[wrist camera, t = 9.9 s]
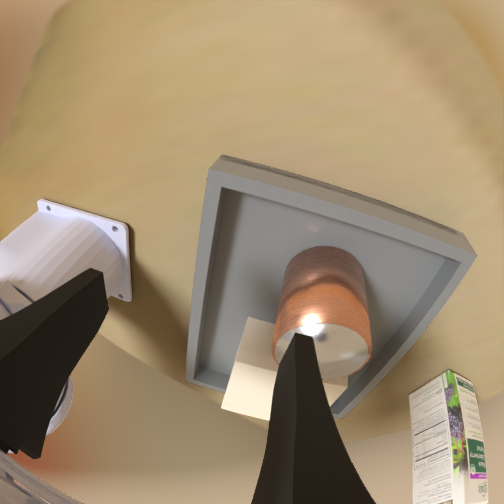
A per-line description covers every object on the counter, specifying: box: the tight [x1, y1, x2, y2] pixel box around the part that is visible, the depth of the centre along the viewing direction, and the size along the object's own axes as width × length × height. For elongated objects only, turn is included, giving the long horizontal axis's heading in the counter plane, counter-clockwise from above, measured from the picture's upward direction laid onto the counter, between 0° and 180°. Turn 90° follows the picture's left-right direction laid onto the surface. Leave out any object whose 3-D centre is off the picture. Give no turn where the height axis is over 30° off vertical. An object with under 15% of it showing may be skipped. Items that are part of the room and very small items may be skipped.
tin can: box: [271, 246, 372, 380], centre depth 17 cm, size 5×5×6 cm
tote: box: [185, 155, 477, 419], centre depth 22 cm, size 16×21×2 cm
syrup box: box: [409, 370, 489, 504], centre depth 20 cm, size 6×6×14 cm
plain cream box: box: [221, 317, 348, 421], centre depth 24 cm, size 8×8×4 cm
